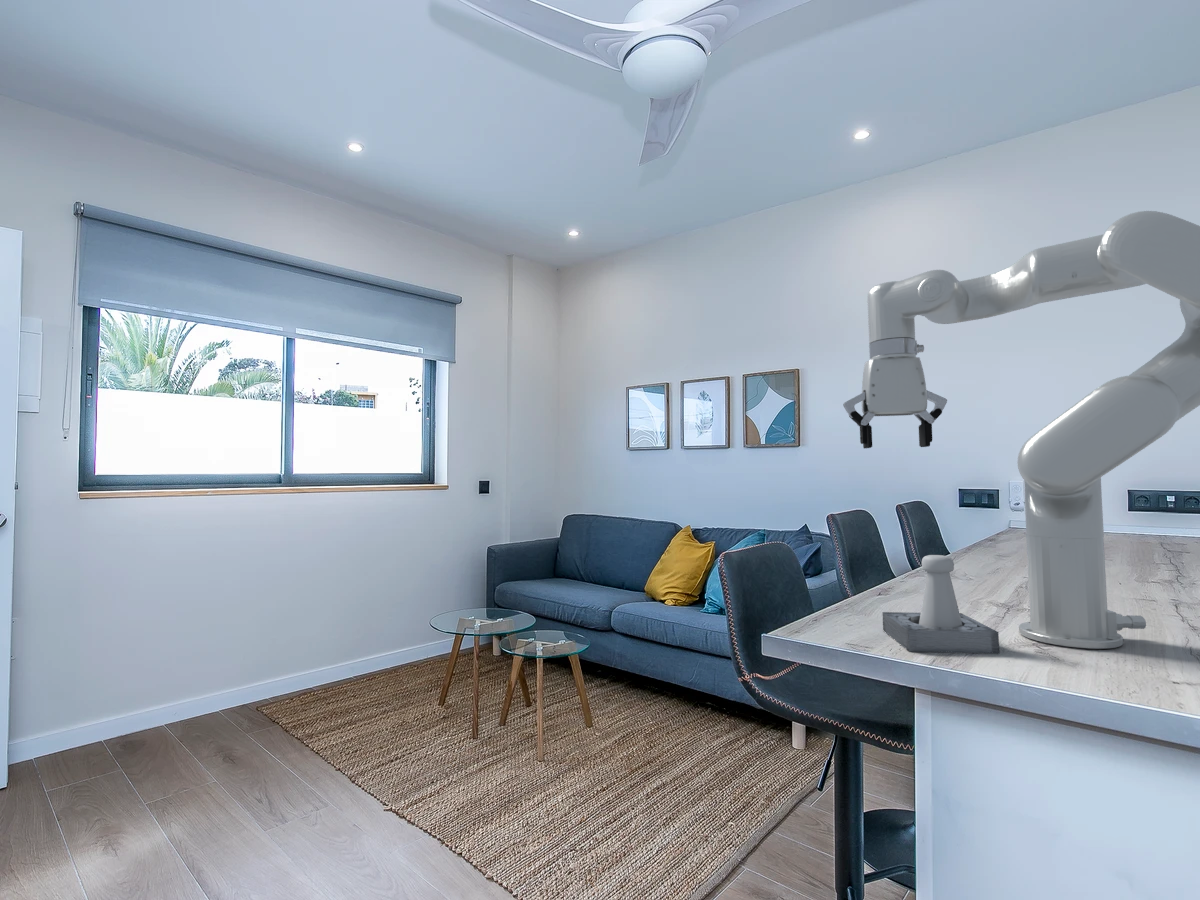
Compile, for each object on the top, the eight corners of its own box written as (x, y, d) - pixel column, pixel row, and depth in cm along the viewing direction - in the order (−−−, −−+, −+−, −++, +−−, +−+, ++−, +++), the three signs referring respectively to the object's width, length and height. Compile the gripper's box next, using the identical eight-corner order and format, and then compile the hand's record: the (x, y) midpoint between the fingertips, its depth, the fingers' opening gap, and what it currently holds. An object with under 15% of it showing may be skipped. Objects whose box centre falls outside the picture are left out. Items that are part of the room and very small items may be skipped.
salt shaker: (952, 636, 96) (949, 553, 96) (970, 646, 90) (966, 558, 90) (913, 636, 96) (910, 553, 97) (928, 646, 91) (925, 558, 91)
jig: (961, 631, 98) (961, 613, 98) (999, 653, 86) (998, 632, 87) (883, 630, 100) (882, 612, 100) (909, 651, 88) (908, 630, 88)
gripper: (935, 354, 113) (939, 447, 112) (837, 358, 115) (840, 449, 114) (952, 345, 105) (957, 445, 104) (847, 350, 108) (851, 447, 107)
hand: (896, 447), depth 109 cm, fingers open, 9 cm apart
